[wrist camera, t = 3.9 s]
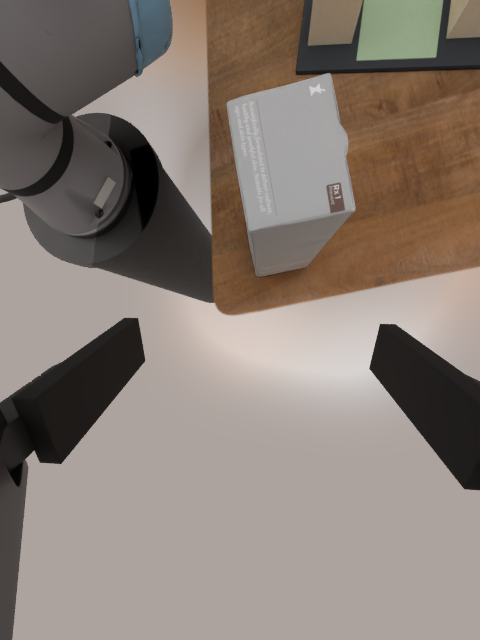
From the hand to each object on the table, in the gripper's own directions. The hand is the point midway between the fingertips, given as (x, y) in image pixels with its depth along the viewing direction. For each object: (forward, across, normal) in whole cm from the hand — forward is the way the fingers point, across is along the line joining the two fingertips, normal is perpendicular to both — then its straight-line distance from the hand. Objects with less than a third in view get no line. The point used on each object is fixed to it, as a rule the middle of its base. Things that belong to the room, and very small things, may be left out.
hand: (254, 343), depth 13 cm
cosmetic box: (+19, +3, +4) cm, 20 cm away
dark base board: (+28, +16, +28) cm, 42 cm away
